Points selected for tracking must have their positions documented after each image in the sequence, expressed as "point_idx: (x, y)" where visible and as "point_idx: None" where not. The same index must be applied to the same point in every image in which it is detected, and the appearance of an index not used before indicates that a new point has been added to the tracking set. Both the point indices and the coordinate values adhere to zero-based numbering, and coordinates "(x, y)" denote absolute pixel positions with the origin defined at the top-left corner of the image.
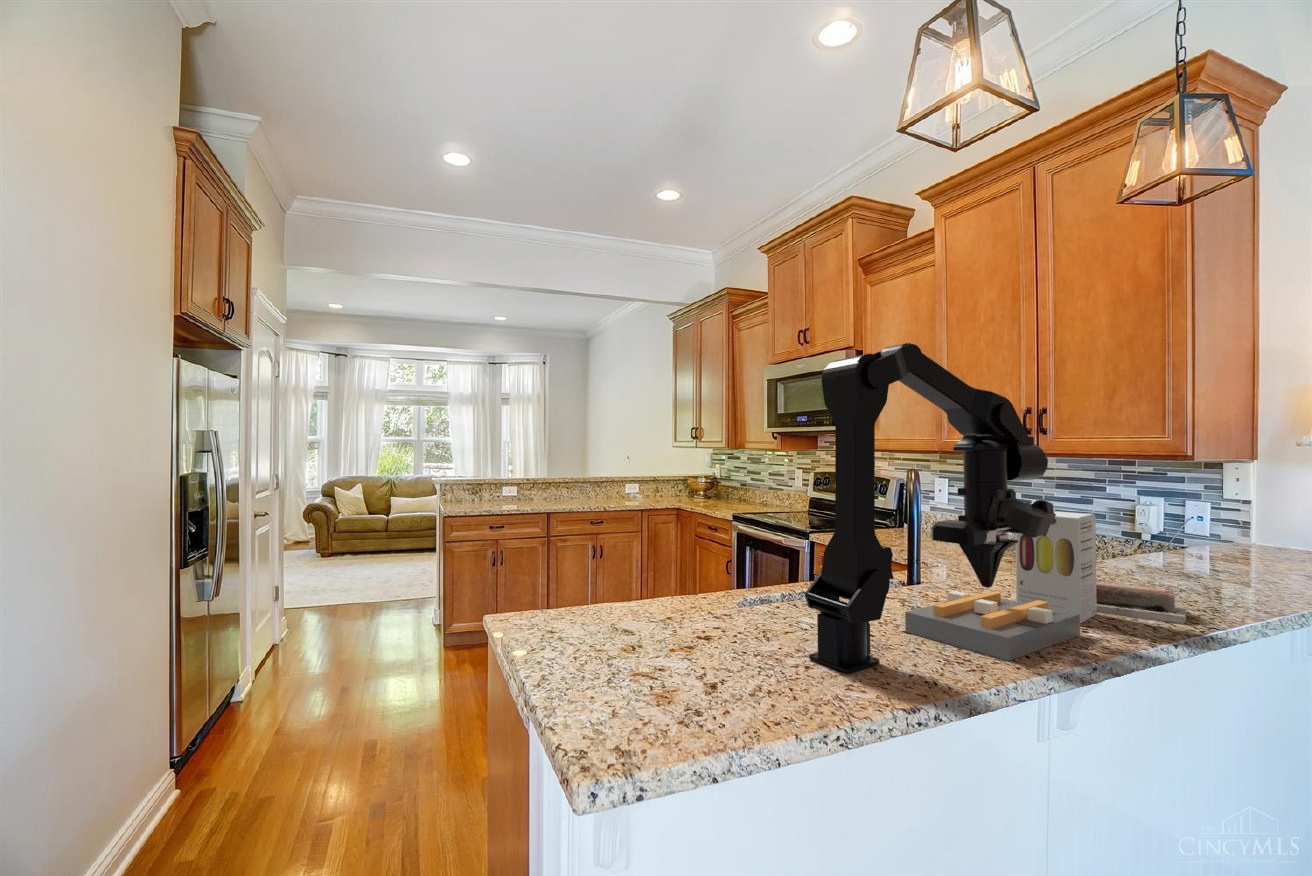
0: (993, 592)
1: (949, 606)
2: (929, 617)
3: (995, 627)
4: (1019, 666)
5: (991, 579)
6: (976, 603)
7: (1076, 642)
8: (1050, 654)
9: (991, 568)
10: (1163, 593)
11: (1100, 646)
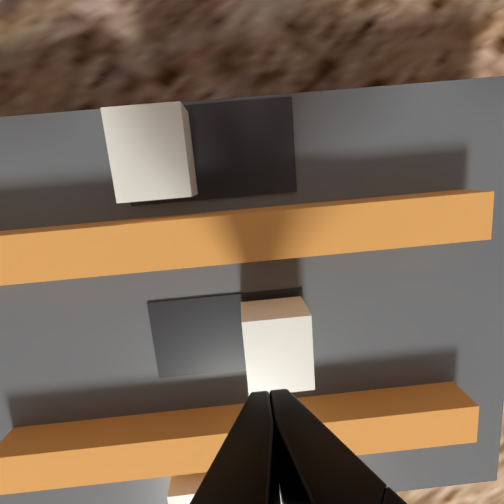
0: (11, 477)
1: (423, 409)
2: (498, 397)
3: (428, 192)
4: (485, 49)
5: (282, 415)
6: (313, 373)
7: (48, 95)
8: (275, 66)
9: (334, 476)
10: None
11: (9, 18)
